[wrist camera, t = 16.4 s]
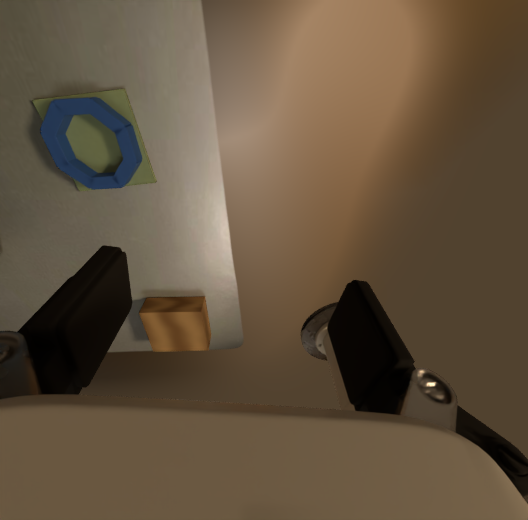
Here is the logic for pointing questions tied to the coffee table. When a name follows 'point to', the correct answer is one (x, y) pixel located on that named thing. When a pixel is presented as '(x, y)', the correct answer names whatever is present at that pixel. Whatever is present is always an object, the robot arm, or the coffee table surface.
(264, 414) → the robot arm
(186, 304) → the platform
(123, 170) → the ring
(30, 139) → the coffee table surface
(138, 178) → the mat
